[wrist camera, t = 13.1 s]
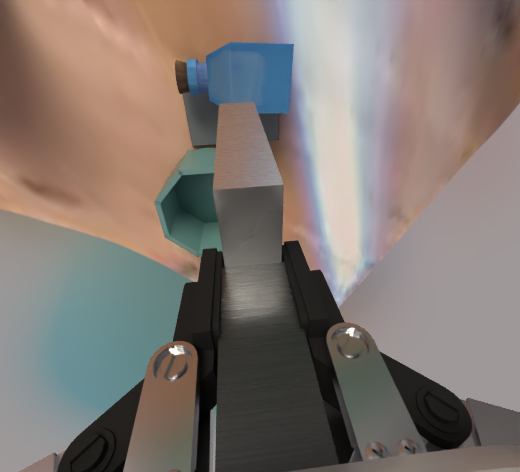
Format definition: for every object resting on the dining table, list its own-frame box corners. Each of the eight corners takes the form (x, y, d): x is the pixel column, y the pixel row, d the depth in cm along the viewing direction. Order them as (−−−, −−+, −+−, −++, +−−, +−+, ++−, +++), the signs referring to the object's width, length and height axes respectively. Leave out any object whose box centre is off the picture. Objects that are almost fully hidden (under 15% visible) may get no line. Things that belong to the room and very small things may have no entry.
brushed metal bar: (257, 101, 15) (615, 987, 1) (261, 225, 21) (333, 629, 7) (215, 104, 15) (92, 1140, 1) (231, 228, 21) (243, 646, 7)
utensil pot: (251, 143, 37) (256, 164, 29) (255, 218, 44) (260, 251, 36) (163, 150, 36) (145, 172, 29) (181, 225, 43) (171, 259, 36)
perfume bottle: (288, 113, 29) (178, 112, 28) (280, 105, 34) (186, 104, 33) (293, 44, 26) (167, 40, 25) (283, 47, 31) (178, 44, 30)
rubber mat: (277, 62, 32) (278, 62, 31) (278, 139, 37) (278, 139, 36) (178, 67, 31) (177, 68, 31) (192, 145, 36) (192, 145, 36)
